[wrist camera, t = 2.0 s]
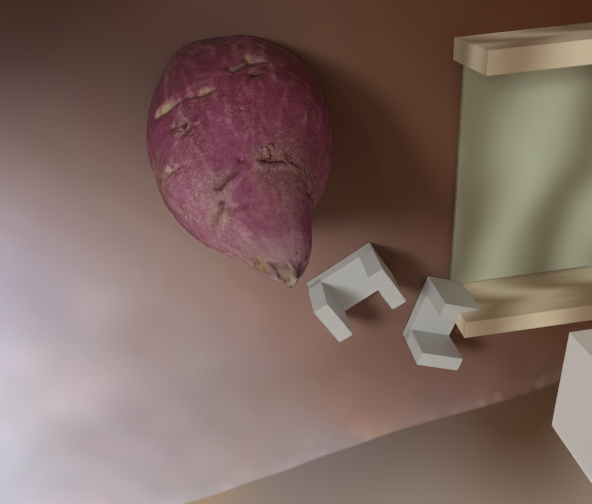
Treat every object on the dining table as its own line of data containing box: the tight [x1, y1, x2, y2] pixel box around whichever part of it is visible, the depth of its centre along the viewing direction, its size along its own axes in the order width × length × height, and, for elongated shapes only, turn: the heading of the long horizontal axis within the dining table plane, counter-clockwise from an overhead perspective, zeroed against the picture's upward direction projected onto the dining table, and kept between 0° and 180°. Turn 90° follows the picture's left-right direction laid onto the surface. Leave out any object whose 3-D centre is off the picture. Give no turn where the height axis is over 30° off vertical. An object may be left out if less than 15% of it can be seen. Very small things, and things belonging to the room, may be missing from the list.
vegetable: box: [147, 35, 334, 288], centre depth 27 cm, size 10×10×15 cm
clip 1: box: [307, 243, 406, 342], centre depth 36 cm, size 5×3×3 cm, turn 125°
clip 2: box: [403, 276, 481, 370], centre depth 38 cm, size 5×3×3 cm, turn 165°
